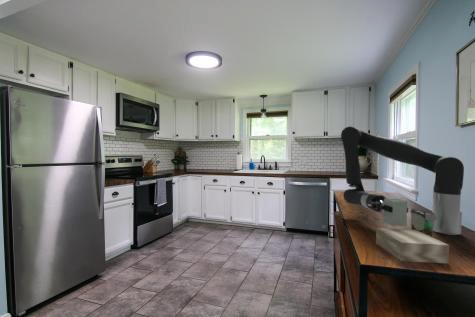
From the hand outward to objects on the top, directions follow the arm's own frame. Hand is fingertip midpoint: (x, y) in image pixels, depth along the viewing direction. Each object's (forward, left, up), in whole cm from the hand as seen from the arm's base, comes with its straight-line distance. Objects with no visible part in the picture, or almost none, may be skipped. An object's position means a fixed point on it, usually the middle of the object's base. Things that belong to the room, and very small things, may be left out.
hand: (399, 209), depth 95 cm
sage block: (0, -3, -6) cm, 7 cm away
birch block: (+5, +12, -12) cm, 18 cm away
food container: (-16, -6, -12) cm, 21 cm away
